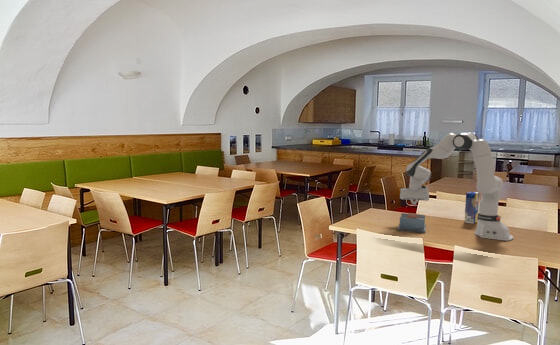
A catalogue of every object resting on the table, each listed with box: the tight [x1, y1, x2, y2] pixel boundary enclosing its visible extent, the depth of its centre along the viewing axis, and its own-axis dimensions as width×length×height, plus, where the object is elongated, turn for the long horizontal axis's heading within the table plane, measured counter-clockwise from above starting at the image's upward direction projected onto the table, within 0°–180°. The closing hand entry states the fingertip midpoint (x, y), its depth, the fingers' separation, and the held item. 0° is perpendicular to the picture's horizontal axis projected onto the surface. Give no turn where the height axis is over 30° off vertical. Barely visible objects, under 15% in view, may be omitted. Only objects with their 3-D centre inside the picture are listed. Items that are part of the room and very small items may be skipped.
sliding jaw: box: [400, 212, 426, 225], centre depth 304 cm, size 16×2×7 cm, turn 70°
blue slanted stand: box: [396, 216, 427, 234], centre depth 298 cm, size 18×20×8 cm
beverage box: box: [463, 191, 480, 224], centre depth 321 cm, size 7×11×22 cm, turn 144°
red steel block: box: [407, 212, 418, 218], centre depth 297 cm, size 6×4×9 cm
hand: (413, 204), depth 308 cm, fingers closed
